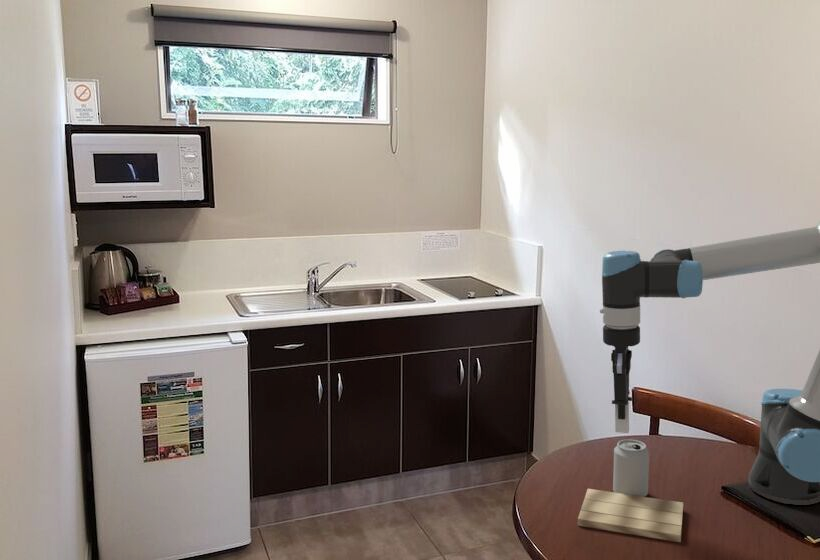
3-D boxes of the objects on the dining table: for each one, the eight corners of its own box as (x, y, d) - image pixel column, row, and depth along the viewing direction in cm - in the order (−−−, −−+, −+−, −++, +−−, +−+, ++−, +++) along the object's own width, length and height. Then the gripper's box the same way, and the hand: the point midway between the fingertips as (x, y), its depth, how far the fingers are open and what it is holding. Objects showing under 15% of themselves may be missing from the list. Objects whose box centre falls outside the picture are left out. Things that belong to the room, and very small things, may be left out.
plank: (682, 509, 155) (683, 502, 155) (681, 532, 147) (681, 525, 146) (587, 494, 163) (587, 488, 162) (580, 516, 154) (580, 509, 154)
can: (649, 503, 159) (651, 451, 157) (614, 501, 160) (615, 449, 158) (645, 488, 166) (647, 438, 164) (611, 485, 167) (612, 436, 165)
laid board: (681, 532, 147) (681, 525, 146) (680, 542, 143) (680, 535, 143) (580, 516, 154) (580, 509, 154) (577, 525, 151) (577, 518, 150)
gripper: (606, 317, 160) (607, 419, 164) (599, 332, 148) (600, 441, 152) (641, 318, 157) (642, 421, 161) (638, 333, 145) (638, 444, 150)
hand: (622, 431), depth 157 cm, fingers closed
